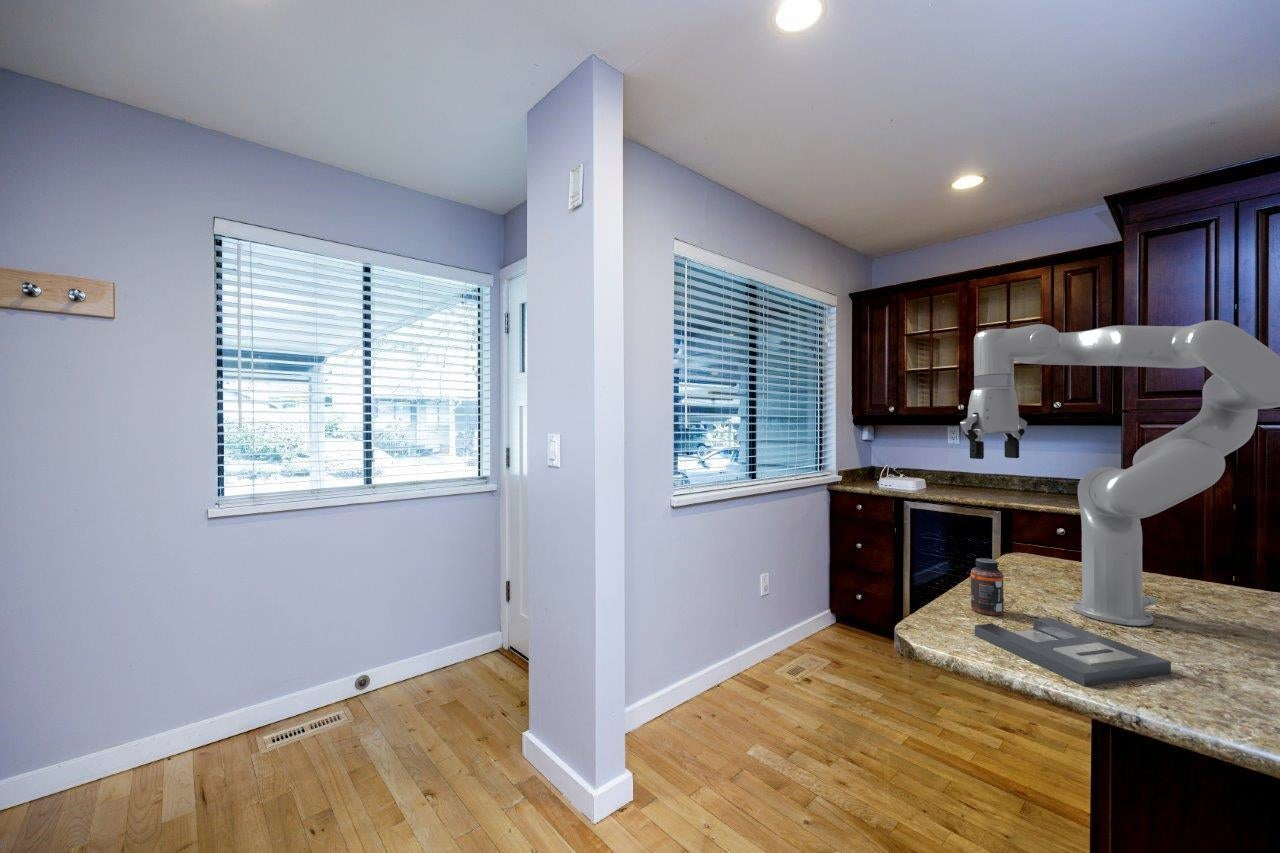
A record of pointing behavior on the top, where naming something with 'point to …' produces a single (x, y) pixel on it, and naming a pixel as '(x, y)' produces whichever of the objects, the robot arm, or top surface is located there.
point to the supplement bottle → (987, 588)
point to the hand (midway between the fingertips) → (994, 458)
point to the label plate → (1075, 652)
